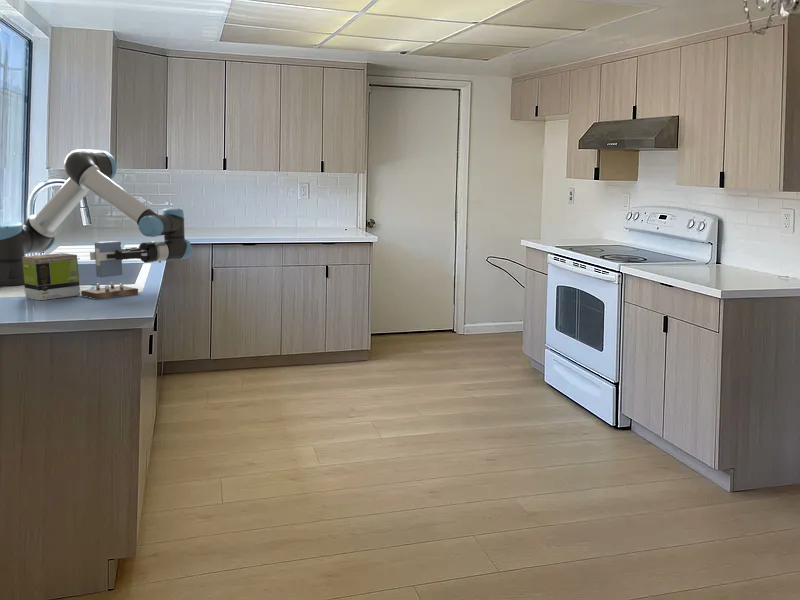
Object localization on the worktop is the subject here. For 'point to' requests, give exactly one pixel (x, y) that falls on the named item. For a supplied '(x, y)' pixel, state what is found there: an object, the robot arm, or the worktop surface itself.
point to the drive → (108, 266)
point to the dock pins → (108, 286)
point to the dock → (109, 292)
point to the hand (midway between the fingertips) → (94, 256)
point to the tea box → (51, 276)
